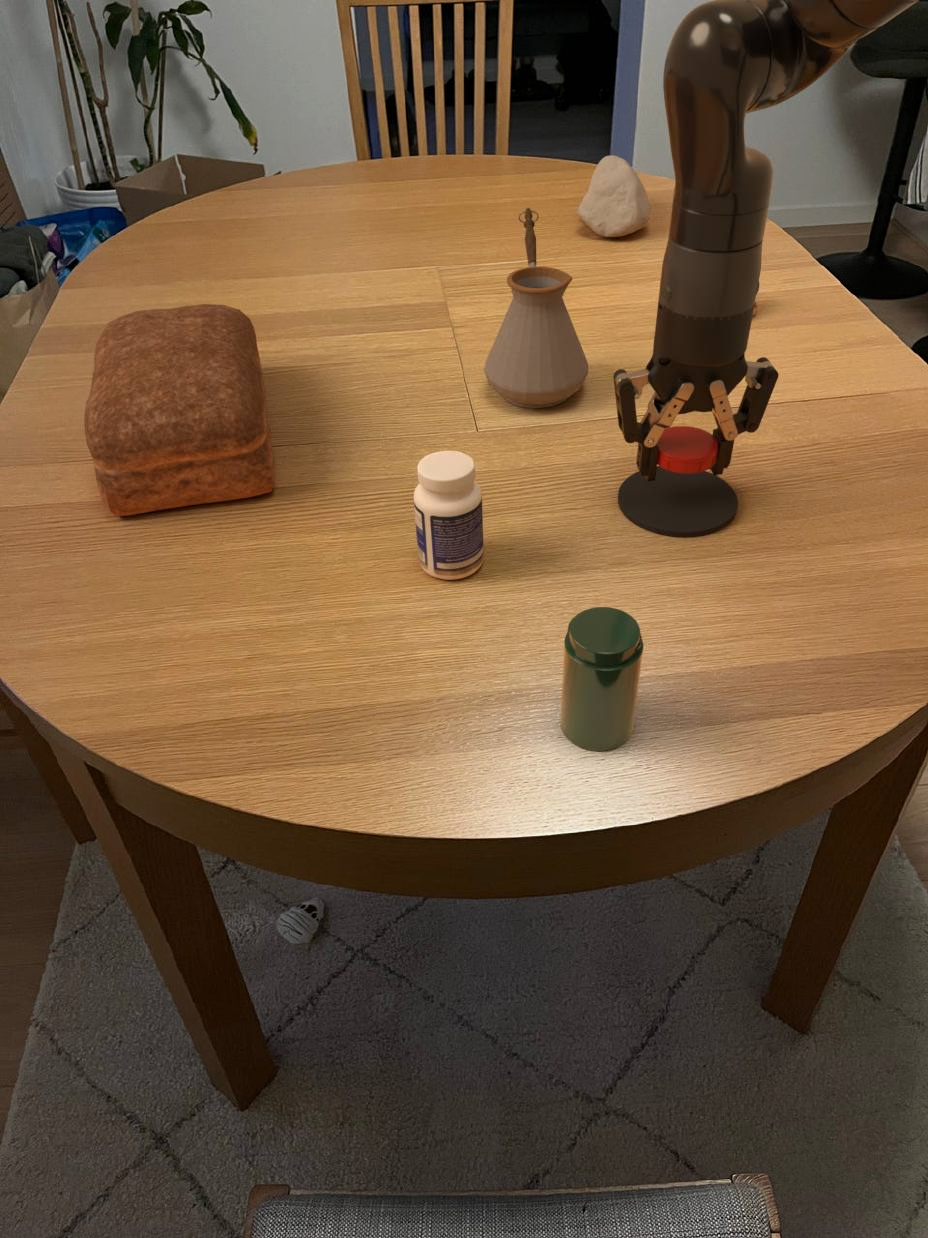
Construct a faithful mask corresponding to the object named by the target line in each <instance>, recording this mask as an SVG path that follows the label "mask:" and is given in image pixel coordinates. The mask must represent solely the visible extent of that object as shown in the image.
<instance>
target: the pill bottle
mask: <svg viewBox="0 0 928 1238" xmlns="http://www.w3.org/2000/svg"><path fill="white" fill-rule="evenodd" d="M416 470H417V482H418V484H417V485H416V486H415V489H414V491H413V511H414V520H415V532H416V542H417V543H416V544H417V554H418V555H417V556H418V563H419V565H420V567H421V570H423V571H424V572H425V573H426V574H428V575H429V576H431V577H433V578H436V579H440V580H447V581H448V580H449V581H453V580H459V579H464V578H467V577H469V576H471V575H473V574H474V573H476V572H477V571H478V570H479V569H480V568H481V566H482V564H483V562H484V555H485V554H484V553H485V552H484V551H485V550H484V521H483V518H484V517H483V515H484V514H483V494H482V490H481V487H480V485H479V483H478V482H477V481H476V480H475V479H476V463H475V461H474V459H473V457H471V456H470V455H469V454H467V453H464V452H461V451H457V450H440V451H434V452H432V453H430V454H429V453H428V454H427V455H425V456H423V457H422V458H421V459H420V460H419V462H418V463H417V469H416Z"/></svg>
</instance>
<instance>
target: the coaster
mask: <svg viewBox="0 0 928 1238" xmlns="http://www.w3.org/2000/svg"><path fill="white" fill-rule="evenodd" d="M617 494H618V495H617V503H618V507H619V509H620V511H621V513H622V514H623V516H625V517H626V519H628V520H629V521H630V522H631V523H633V524H634V525H636V526H638V527H639V528H641V529H644V530H646V531H648V532H651V533H654V534H659V535H661V536H667V537H675V538H695V537H702V536H707V535H710V534H713V533H716V532H718V531H720V530H723V529H724V528H725V527H727V526H728V525H729V524H730V523H732V522H733V520H734V519H735V517H736V515H737V512H738V508H739V498H738V495H737V493H736V491H735V490H734V488H733V487H732V486H731V485H730V484H729V483H728V482H727V481H726V480H724V479H723V478H721V477H720V476H719V475H713V473H712V472H709V471H708V470H705V471H703V472H699V473H692V474H683V473H676V472H672V471H669V470H666V469H664V468H662V467H660V466H659V465H657V469H656V477H655V481H646V479H645V477H644V476H641V474H640V471H639V470H638V471H636V472H634V473H631V475H629V476H627V478H625V479H624V480H623V481H622V483H621V485H620V487H618V493H617Z"/></svg>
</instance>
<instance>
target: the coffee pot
mask: <svg viewBox="0 0 928 1238" xmlns="http://www.w3.org/2000/svg"><path fill="white" fill-rule="evenodd" d="M533 213H534V214H536V219H534V220H533ZM523 214H524V220H525V221H523V220H522V219H521V215H523ZM539 217H540V216H539V213H538V212H537V211H535V210H532V209H531V208H530V207H527V208H525V210H523V211H522V212H520V213H519V215H518V220H519V222H521V224H523V227H524V228H525V235H524V244H525V250H526V257H527V264H528V265H527V267H523V268H522V267H521V268H518V269H516V270H514V271H512V272H510V273H509V275H507V277H506V283H507V285H508V288H510V289H511V293H512V299H511V301H510V303H509V306H508V309H507V311H506V313H505V316H504V318H503V320H502V322H501V325H500V327H499V329H498V332H497V334H496V336H495V339H494V341H493V344H492V346H491V348H490V351H489V353H488V355H487V358H486V360H485V363H484V367H483V371H484V375H485V378H486V380H487V382H488V384H489V386H490V387H491V388H492V389H493V390H494V391H495V392H496V393H498V395H499V396H502V397H503V399H505V400H506V401H507V402H508V403H510V404H512V405H515V406H518V407H522V408H527V409H542V408H549V407H550V408H551V407H553V406H557V405H559V404H562V403H563V402H565V401H566V400H567V399H568V398H569V397H570V396H572V395H573V394H574V393H576V392H577V391H579V389H580V388H582V385H583V384H584V382H585V380H586V379H587V377H588V375H589V368H590V367H589V362H588V360H587V357H586V354H585V352H584V349H583V347H582V345H581V342H580V339H579V336H578V334H577V332H576V329H575V327H574V324H573V321H572V318H571V316H570V314H569V311H568V309H567V306H566V304H565V301H564V299H563V297H564V294H565V293H566V290H567V288H568V286H569V285H570V284H571V282H572V280H573V276H572V275H570V274H569V273H567V272H565V271H564V270H561V269H559V268H555V267H551V266H537V237H536V234H535V229H534V228H535V225H536V222H537V221H538V220H539Z"/></svg>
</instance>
